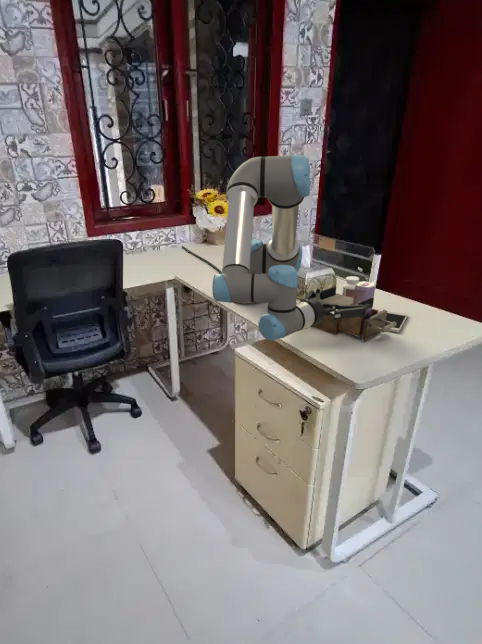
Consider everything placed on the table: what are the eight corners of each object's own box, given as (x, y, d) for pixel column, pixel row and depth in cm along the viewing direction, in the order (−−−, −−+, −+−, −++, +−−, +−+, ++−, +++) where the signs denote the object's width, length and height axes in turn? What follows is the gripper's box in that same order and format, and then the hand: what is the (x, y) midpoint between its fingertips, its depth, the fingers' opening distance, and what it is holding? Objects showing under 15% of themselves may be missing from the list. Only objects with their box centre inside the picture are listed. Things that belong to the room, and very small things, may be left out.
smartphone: (407, 316, 147) (408, 313, 147) (398, 332, 136) (398, 330, 135) (386, 312, 151) (386, 310, 150) (375, 328, 140) (376, 326, 139)
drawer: (398, 334, 133) (401, 314, 130) (379, 346, 127) (382, 325, 124) (350, 319, 145) (352, 301, 142) (330, 329, 139) (332, 310, 136)
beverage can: (372, 327, 136) (379, 283, 129) (362, 332, 133) (368, 288, 126) (356, 322, 140) (361, 279, 134) (346, 327, 137) (351, 284, 130)
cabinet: (357, 323, 144) (360, 299, 140) (335, 334, 137) (338, 310, 133) (323, 312, 154) (325, 290, 150) (301, 323, 147) (303, 299, 143)
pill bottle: (361, 306, 158) (365, 278, 153) (350, 310, 155) (353, 281, 150) (349, 301, 163) (352, 274, 158) (337, 305, 160) (340, 277, 155)
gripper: (274, 313, 129) (320, 297, 139) (340, 340, 110) (387, 319, 121) (275, 290, 125) (322, 275, 136) (343, 314, 107) (391, 295, 117)
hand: (353, 296), depth 128 cm, fingers open, 13 cm apart
